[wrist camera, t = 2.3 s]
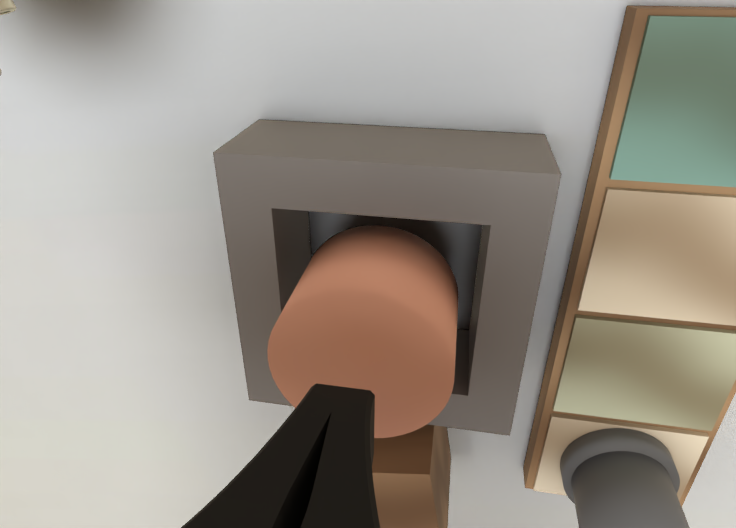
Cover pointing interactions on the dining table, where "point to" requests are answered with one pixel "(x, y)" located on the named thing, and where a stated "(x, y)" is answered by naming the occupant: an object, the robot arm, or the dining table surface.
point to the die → (412, 478)
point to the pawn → (622, 480)
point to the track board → (651, 252)
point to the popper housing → (396, 200)
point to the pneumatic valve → (6, 9)
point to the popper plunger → (372, 326)
